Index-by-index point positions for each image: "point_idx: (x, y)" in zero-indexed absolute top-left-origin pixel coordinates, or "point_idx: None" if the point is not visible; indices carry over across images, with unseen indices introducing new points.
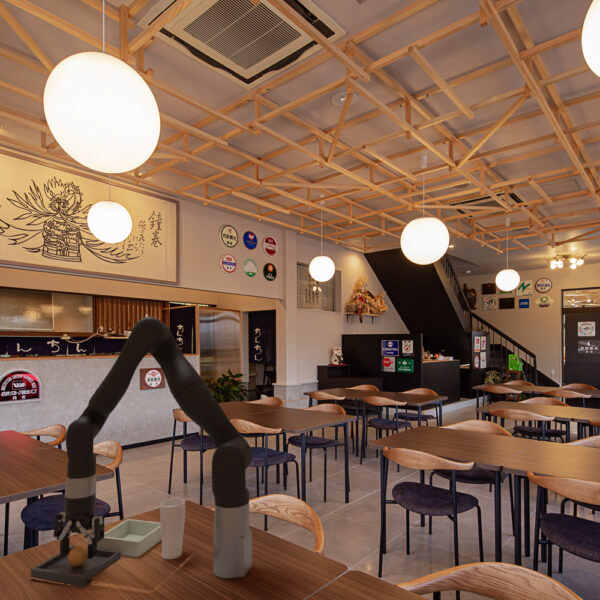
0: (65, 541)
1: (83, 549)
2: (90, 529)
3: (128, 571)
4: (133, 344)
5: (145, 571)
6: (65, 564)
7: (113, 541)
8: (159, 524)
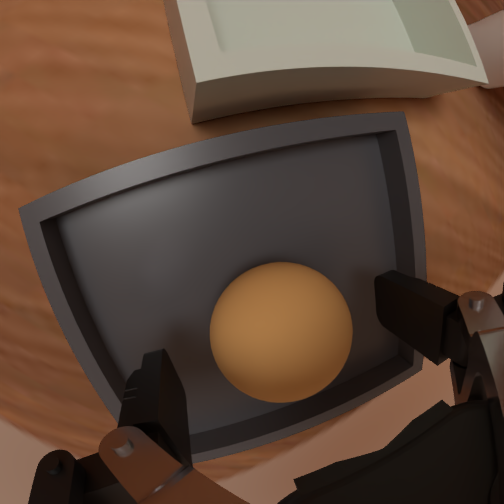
0: (179, 444)
1: (349, 342)
2: (487, 372)
3: (451, 182)
4: None
5: (480, 159)
6: (179, 335)
7: (359, 72)
8: None
